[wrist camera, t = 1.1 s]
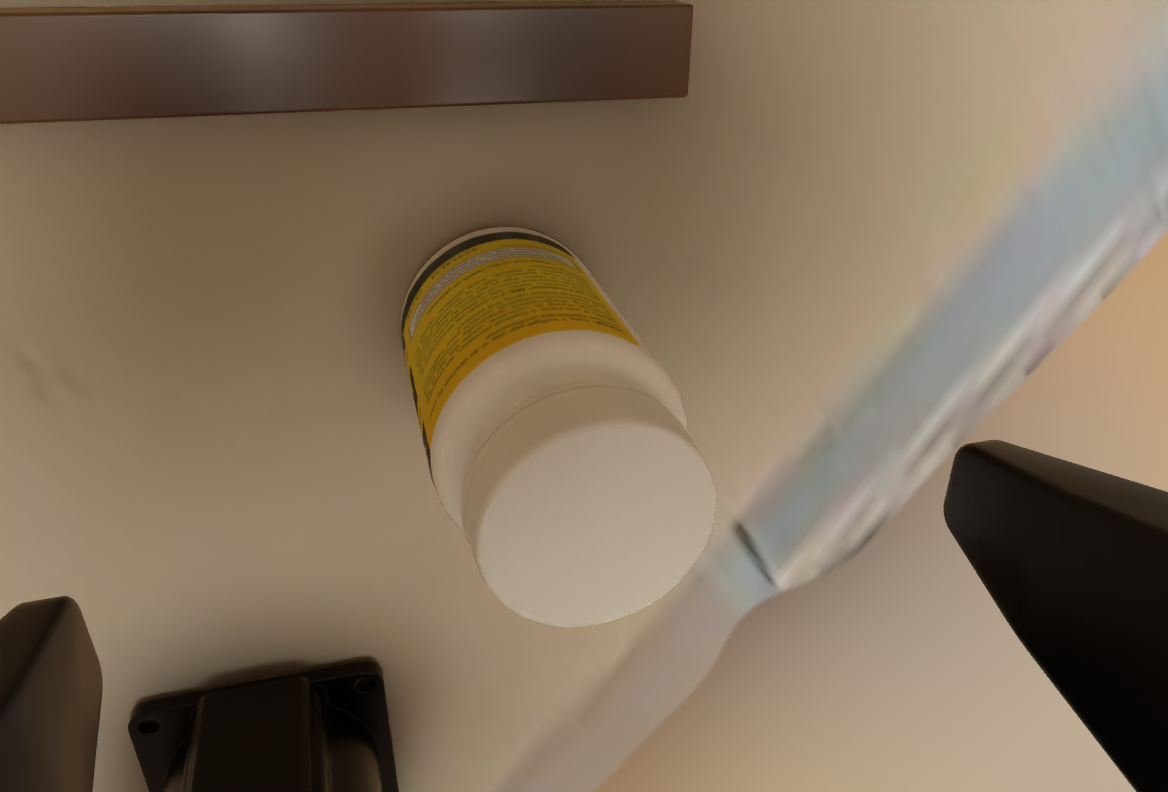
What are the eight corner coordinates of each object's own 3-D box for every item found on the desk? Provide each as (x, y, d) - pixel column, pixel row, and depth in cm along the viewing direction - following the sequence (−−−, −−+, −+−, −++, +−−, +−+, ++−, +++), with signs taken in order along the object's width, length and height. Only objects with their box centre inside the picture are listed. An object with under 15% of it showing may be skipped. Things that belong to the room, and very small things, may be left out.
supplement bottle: (354, 323, 20) (379, 551, 13) (505, 178, 19) (621, 333, 12) (496, 442, 22) (584, 688, 15) (634, 317, 22) (793, 513, 15)
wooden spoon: (683, -116, 17) (712, -118, 16) (666, 184, 20) (690, 201, 19) (-1049, -154, 12) (-1215, -162, 10) (-730, 273, 15) (-829, 308, 13)
